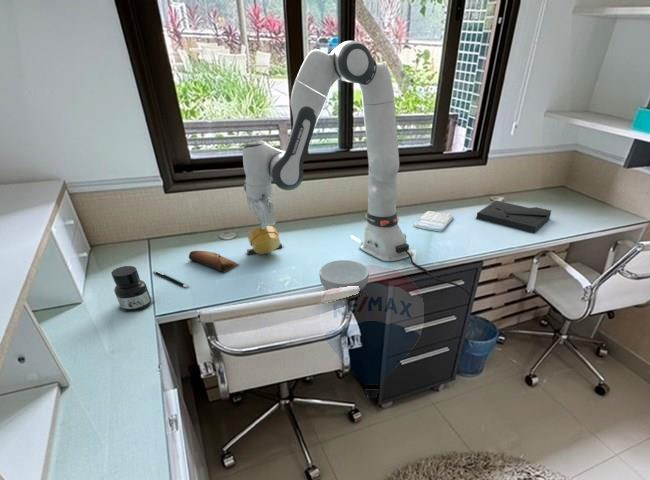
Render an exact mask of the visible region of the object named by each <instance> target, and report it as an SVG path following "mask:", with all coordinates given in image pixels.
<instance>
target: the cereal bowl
mask: <svg viewBox="0 0 650 480" xmlns="http://www.w3.org/2000/svg"><path fill="white" fill-rule="evenodd" d="M318 275H319V281H320V283H321V286H323V287H324V289H325V290H327V289H331V288H339V287H347V286H359V288H360V291H362V290H363V289H365V287H366V286H367V284H368V283H369V277H370V270H369V268H368V266H366V265H365V264H363V263H361V262H358V261H355V260H348V259H347V260H345V259H342V260H341V259H340V260H334V261H329V262H327V263H325V264H324V265H322V266H321V268H319V272H318Z"/></svg>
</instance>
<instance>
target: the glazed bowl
mask: <svg viewBox="0 0 650 480" xmlns="http://www.w3.org/2000/svg"><path fill="white" fill-rule="evenodd" d="M247 239H248V243H249V245H250V246H251V247H252V249H253V250H254V251H255V252H256V253H255V254H259V255H265V254H268V253H271V252H273V251H275V250H277V249H279V248H278V247H279V245H280V243H281V240H280V237H279V232H278V230H277V228H276V227H274V226H273V225H266V229H261V228H260V226H258V227H257V228H255V229H253V230H252V231H251V232H250V233H249V234H248V235H247Z"/></svg>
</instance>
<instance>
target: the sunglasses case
mask: <svg viewBox="0 0 650 480" xmlns="http://www.w3.org/2000/svg"><path fill="white" fill-rule="evenodd" d="M188 259H189V260H190V261H192V262H197V263H201V264H203V265H205V266H208V267H210V268H213V269H216V270H218V271H221V272H223V273H226V272H229V271H231V270H232V269H234V268H236V267H237V266H238V265H239V264H238V263H237V262H235V260H234V261H233V260H231V259H229V258H227V257H226V256H222V255H221V254H220V253H217V252H213V251H206V250H193V251H190V252H189V254H188Z"/></svg>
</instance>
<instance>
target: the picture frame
mask: <svg viewBox="0 0 650 480" xmlns="http://www.w3.org/2000/svg"><path fill="white" fill-rule="evenodd" d="M551 215H552V210H551V209H547V208H542V207H537V206H535V207H527V206H523V205H518V204H513V203H509V202H504V201H500V200H494V201H493V202H492V203H490V204H488V205H487V206H485V207H484V208H482V209H481V210H479V211H477V213H476V218H475V219H476V220H479V221H484V222H487V223H491V224H495V225H498V226H504V227H507V228H511V229H514V230H520V231H523V232H527V233H531V234H535V233H536V232H537V231H538V230H539V229H541V227H542V226H543V225H544V224H545V223H547V222H548V220H550V219H551Z"/></svg>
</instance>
